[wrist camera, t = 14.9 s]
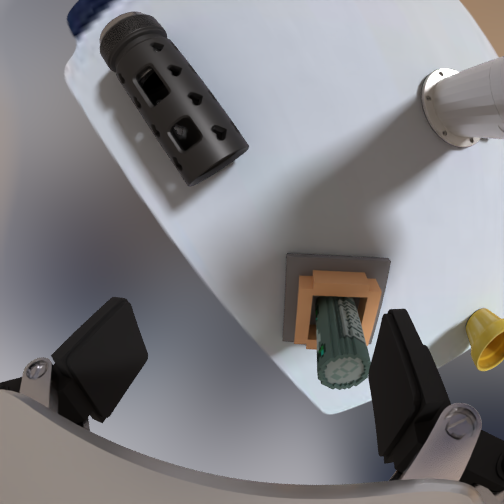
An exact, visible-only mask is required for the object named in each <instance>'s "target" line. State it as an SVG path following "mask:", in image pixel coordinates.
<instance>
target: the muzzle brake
mask: <svg viewBox="0 0 504 504" xmlns="http://www.w3.org/2000/svg"><path fill="white" fill-rule="evenodd" d="M100 53H101V56H102V57H103V59H104V60H105V62H106V64H107V65H108V67H109V68H110V69H111V70H112V71H114V72H116V75H117V77H118V79H119V81H120V82H121V84H122V85H123V87H124V88H125V90H126V92H127V93H128V95H129V96H130V98H131V99H132V101H133V103H134V104H135V106H136V107H137V109H138V110H139V112H140V113H141V115H142V116H143V118H144V120H145V121H146V123H147V124H148V126H149V127H150V129H151V130H152V132H153V133H154V135H155V136H156V138H157V140H158V141H159V143H160V144H161V146H162V147H163V149H164V150H165V152H166V153H167V155H168V156H169V158H170V159H171V161H172V162H173V164H174V165H175V167H176V168H177V170H178V171H179V173H180V174H181V176H182V177H183V179H184V180H185V182H186V183H187V185H188V186H193V185H196V184H197V183H199V182H201V181H203V180H205V179H206V178H208V177H210V176H211V175H213V174H215V173H216V172H218V171H219V170H221V169H222V168H224V167H225V166H227V165H228V164H230V163H231V162H233V161H234V160H235V159H237V158H238V157H239V156H241V155H242V154H243V153H245V152H246V151H247V150H248V148H249V145H248V144H247V142H246V141H245V139H244V138H243V136H242V135H241V134H240V132H239V131H238V129H237V128H236V126H235V125H234V123H233V122H232V121H231V119H230V118H229V116H228V115H227V114H226V112H225V111H224V109H223V108H222V107H221V105H220V104H219V102H218V101H217V100H216V98H215V97H214V96H213V94H212V93H211V92H210V90H209V89H208V88H207V86H206V85H205V84H204V82H203V81H202V80H201V78H200V77H199V76H198V74H197V73H196V72H195V70H194V69H193V68H192V66H191V65H190V64H189V63H188V61H187V60H186V59H185V57H184V56H183V55H182V54H181V52H180V51H179V50H178V49H177V47H176V46H175V45H174V44H173V43H172V41H171V40H170V39H167V34H166V31H165V30H164V29H163V27H162V26H161V25H160V24H159V23H158V22H157V20H156V19H155V18H154V17H152V16H150V15H146V14H143V13H141V12H128V13H125V14H122V15H120V16H118V17H116V18H114V19H113V20H112V21H110V22H109V23H108V24H107V25H106V26H105V28H104V29H103V31H102V33H101V35H100ZM158 102H159V103H158ZM157 103H158V104H157ZM174 127H179V128H183V133H182V135H179V134H177V130H175V129H174Z"/></svg>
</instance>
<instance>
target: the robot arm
mask: <svg viewBox="0 0 504 504" xmlns="http://www.w3.org/2000/svg"><path fill="white" fill-rule="evenodd" d="M426 98H427V99H426ZM422 104H423V109H424V112H425V115H426V117H427V120H428V122H429V124H430V125H431V127H432V128H433V130H434V131H435V132H436V133H437V134H438V136H439V137H441V138H442V139H443V140H444V141H446V142H447V143H449V144H451V145H454V146H457V147H469V146H472V145H474V144H476V143H477V142H478V141H479V140H480V139H481V138H493V139H504V56H503V57H500V58H497V59H494V60H491V61H488V62H485V63H482V64H479V65H477V66H474V67H471V68H468V69H466V70H463V71H461V72H457V71H455V70H452V69H448V68H442V69H438V70H435V71H433V72H432V73H431V74H429V75H428V76H427V78H426V79H425V81H424V84H423V87H422ZM442 132H443V133H442ZM51 356H52V358H53V360H54V362H55V364H54V365H52V363H51V361H50V360H49V359H48V358H44V357H43V358H37V359H35V360H33V361H31V362H30V363H29V364H28V365H27V366H26V367H25V369H24V372H23V376H22V377H20V378H17V379H13V380H9V381H5V382H2V383H0V504H504V441H503V440H501V439H499V438H497V437H495V436H493V435H491V434H489V433H487V432H485V431H483V430H481V426H482V423H481V418H480V416H479V413H478V412H477V411H476V410H475V409H474V408H473V407H471V406H470V405H468V404H464V403H455V404H452V405H451V403H450V400H449V398H448V395H447V392H446V390H445V387H444V384H443V382H442V379H441V377H440V374H439V372H438V370H437V367H436V365H435V363H434V360H433V358H432V356H431V353H430V351H429V349H428V347H427V346H426V345H423V344H422V342H421V340H420V337H419V335H418V333H417V331H416V329H415V327H414V325H413V323H412V320H411V318H410V316H409V314H408V312H407V311H406V309H390V310H389V311H388V314H384V315H383V317H382V322H381V326H380V330H379V334H378V339H377V343H376V346H375V350H374V354H373V358H372V361H371V365H370V368H369V375H368V377H369V384H370V390H371V396H372V403H373V410H374V416H375V424H376V433H377V443H378V452H379V456H384V463H391V462H394V465H395V469H396V470H397V471H396V472H395V473H394V475H393V476H392V477H391V479H390V480H389V481H384V482H373V483H360V484H344V485H295V484H278V483H267V482H257V481H250V480H242V479H236V478H229V477H225V476H219V475H214V474H209V473H205V472H200V471H197V470H193V469H189V468H185V467H181V466H177V465H174V464H171V463H168V462H164V461H161V460H158V459H155V458H152V457H149V456H147V455H143V454H141V453H138V452H136V451H133V450H131V449H128V448H125V447H123V446H120V445H118V444H116V443H114V442H111V441H109V440H107V439H105V438H103V437H100V436H98V435H96V434H94V433H92V432H90V429H89V421H88V416H89V415H90V416H91V417H92V418H93V419H94V420H97V421H99V422H101V423H103V422H104V420H105V419H106V418H108V417H109V416H110V415H111V413H112V412H113V410H114V409H115V407H116V406H117V404H118V403H119V401H120V400H121V398H122V397H123V395H124V394H125V392H126V391H127V389H128V388H129V386H130V385H131V383H132V382H133V380H134V379H135V377H136V376H137V375H138V373H139V372H140V370H141V369H142V367H143V366H144V364H145V363H146V361H147V359H148V353H147V350H146V347H145V345H144V342H143V339H142V336H141V333H140V331H139V328H138V325H137V322H136V319H135V316H134V313H133V310H132V306H131V304H130V303H129V302H128V301H127V299H125V298H118V297H112V298H111V299H110V300H109V301H107V302H106V303H105V304H104V305H103V306H102V307H101V308H100V309H99V310H98V311H97V312H96V313H94V314H93V315H92V316H91V317H90V318H89V319H88V320H87V321H86V322H85V323H84V324H83V325H82V326H81V327H80V328H79V329H77V330H76V331H75V332H74V333H73V334H72V335H71V336H70V337H69V338H68V339H67V340H66V341H65V342H64V343H63V344H62V345H61V346H60V347H59V348H58V349H57V350H56V351H55V352H54V353H53V354H52V355H51Z"/></svg>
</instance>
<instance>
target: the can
mask: <svg viewBox="0 0 504 504" xmlns="http://www.w3.org/2000/svg"><path fill="white" fill-rule="evenodd" d="M316 302H317V303H316V304H315V312H316V337H317V373H318V379H319V380H321V384H323V385H325V386H327V387H329V388H331V389H334V388H337V389H339V390H341V389H342V388H343V389H346V388H351V387H352V386H353V385H354V386H357V385H358V384H360V383H361V382H362V381H364V380H365V379H366V378H367V377H368V374H369V368H370V365H371V362H370V358H369V353H368V349H367V345H366V341H365V337H364V333H363V329H362V326H361V322H360V318H359V315H358V311H357V307H356V304H355V300H354V298H353V297H338V296H319V297H318V298H317V299H316Z"/></svg>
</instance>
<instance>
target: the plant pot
mask: <svg viewBox="0 0 504 504" xmlns="http://www.w3.org/2000/svg"><path fill="white" fill-rule="evenodd" d="M466 332H467V335H468V338H469V342H470V345H471V349H472V350H471V356H472V359H473V361H474V363H475V365H476V367H477V369H478V370H480V371H486V370H490V369H492V368H494V367H495V366H497V365H498V364H499V363H501V362H502V361H503V360H504V319H501V318H499V317H498V316H496V315H495V314H494V313H492V312H491V311H489V310H488V309H486V308H482V309H479V310H477V311H476V312H475V313H474V314H473V315H472V316H471V317H470V318H469V320H468V322H467V325H466Z"/></svg>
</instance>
